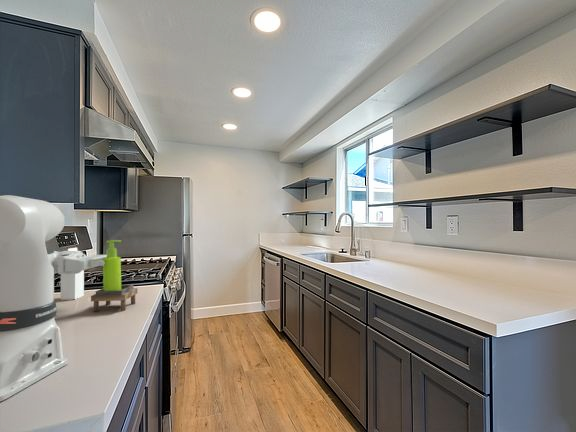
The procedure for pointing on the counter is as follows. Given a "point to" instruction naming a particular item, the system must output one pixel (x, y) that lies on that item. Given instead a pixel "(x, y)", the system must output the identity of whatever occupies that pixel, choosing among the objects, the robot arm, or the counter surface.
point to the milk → (72, 284)
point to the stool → (115, 296)
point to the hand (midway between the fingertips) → (111, 261)
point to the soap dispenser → (112, 269)
